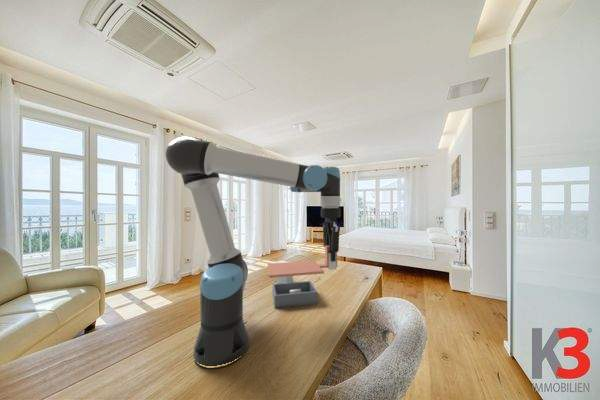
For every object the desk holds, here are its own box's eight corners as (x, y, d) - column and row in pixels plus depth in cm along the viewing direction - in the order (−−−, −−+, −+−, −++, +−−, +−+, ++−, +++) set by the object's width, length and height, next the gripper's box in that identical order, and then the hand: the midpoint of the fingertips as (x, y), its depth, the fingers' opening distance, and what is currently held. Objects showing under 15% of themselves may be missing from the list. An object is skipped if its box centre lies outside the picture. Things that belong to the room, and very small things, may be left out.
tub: (274, 308, 85) (274, 295, 85) (272, 295, 96) (272, 284, 96) (317, 303, 88) (317, 291, 88) (310, 291, 100) (310, 281, 100)
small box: (293, 282, 112) (293, 262, 112) (286, 285, 107) (286, 265, 107) (281, 279, 116) (281, 260, 116) (274, 282, 111) (274, 262, 111)
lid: (269, 277, 70) (269, 253, 70) (267, 265, 83) (267, 245, 83) (342, 271, 75) (342, 249, 75) (330, 261, 88) (330, 242, 88)
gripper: (347, 207, 74) (348, 274, 74) (332, 206, 89) (333, 261, 89) (327, 208, 73) (328, 275, 73) (315, 206, 88) (316, 262, 88)
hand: (330, 267), depth 81 cm, fingers closed on lid, 2 cm apart
